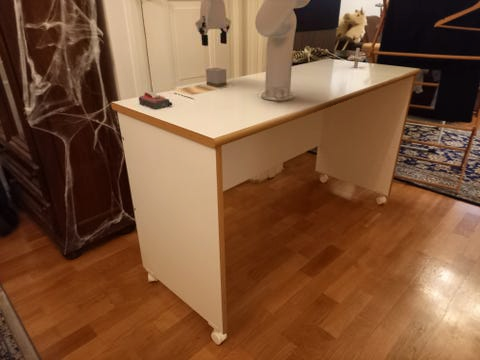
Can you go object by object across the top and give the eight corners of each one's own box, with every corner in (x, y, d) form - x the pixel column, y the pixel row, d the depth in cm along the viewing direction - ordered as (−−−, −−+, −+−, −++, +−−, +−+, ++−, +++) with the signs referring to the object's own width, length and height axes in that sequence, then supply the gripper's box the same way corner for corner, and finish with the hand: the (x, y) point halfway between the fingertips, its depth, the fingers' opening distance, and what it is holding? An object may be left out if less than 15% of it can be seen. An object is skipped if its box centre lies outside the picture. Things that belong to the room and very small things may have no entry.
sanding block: (215, 83, 152) (215, 67, 149) (226, 85, 147) (226, 69, 144) (206, 84, 149) (205, 69, 146) (217, 87, 144) (216, 71, 141)
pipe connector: (342, 67, 192) (344, 47, 188) (358, 65, 195) (360, 46, 190) (352, 70, 184) (355, 49, 179) (369, 68, 186) (372, 49, 182)
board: (215, 85, 155) (215, 81, 154) (234, 89, 147) (234, 85, 147) (174, 93, 142) (173, 89, 141) (192, 98, 134) (191, 94, 133)
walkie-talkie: (177, 106, 126) (149, 97, 139) (176, 94, 124) (147, 85, 137) (156, 111, 121) (128, 101, 134) (155, 98, 119) (127, 89, 132)
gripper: (223, -4, 140) (224, 42, 148) (188, -4, 130) (191, 45, 138) (236, -4, 136) (236, 43, 143) (201, -4, 125) (203, 47, 133)
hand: (214, 44), depth 141 cm, fingers open, 9 cm apart
